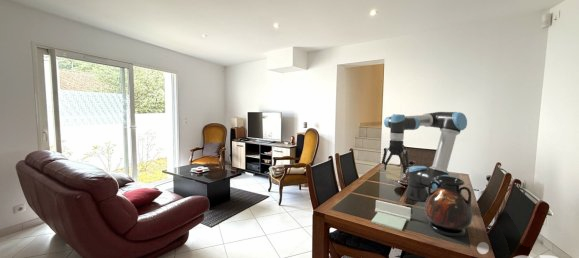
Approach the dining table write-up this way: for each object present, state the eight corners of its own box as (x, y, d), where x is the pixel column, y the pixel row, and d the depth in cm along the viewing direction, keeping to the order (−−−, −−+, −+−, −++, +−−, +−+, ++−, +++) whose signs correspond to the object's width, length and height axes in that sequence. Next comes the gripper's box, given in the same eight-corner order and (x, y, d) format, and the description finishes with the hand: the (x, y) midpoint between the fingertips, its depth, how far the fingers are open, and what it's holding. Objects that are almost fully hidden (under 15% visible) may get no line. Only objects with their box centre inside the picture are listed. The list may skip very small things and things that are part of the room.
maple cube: (389, 175, 149) (389, 162, 148) (402, 177, 144) (403, 164, 143) (385, 178, 142) (386, 165, 142) (400, 180, 138) (400, 167, 137)
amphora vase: (473, 228, 127) (477, 178, 124) (469, 246, 111) (473, 189, 108) (428, 216, 141) (430, 171, 139) (418, 230, 125) (421, 179, 123)
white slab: (376, 209, 150) (376, 200, 150) (410, 218, 139) (411, 208, 138) (374, 211, 148) (375, 201, 147) (409, 220, 136) (410, 209, 136)
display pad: (378, 213, 145) (378, 211, 145) (406, 220, 136) (406, 219, 136) (371, 222, 134) (371, 220, 134) (401, 231, 125) (401, 229, 125)
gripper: (377, 138, 144) (375, 174, 146) (414, 142, 132) (412, 181, 134) (380, 137, 150) (378, 172, 152) (416, 140, 138) (414, 178, 140)
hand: (394, 176), depth 143 cm, fingers closed on maple cube, 8 cm apart
